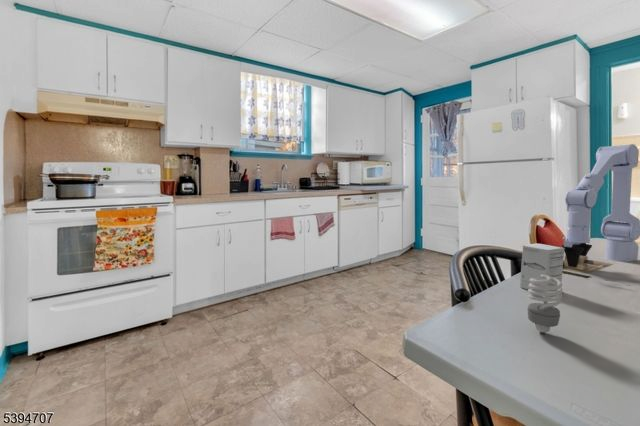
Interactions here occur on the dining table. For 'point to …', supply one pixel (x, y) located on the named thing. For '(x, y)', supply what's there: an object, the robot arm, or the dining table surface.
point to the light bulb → (544, 312)
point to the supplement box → (541, 263)
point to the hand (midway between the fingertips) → (575, 265)
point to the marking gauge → (579, 263)
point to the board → (589, 269)
